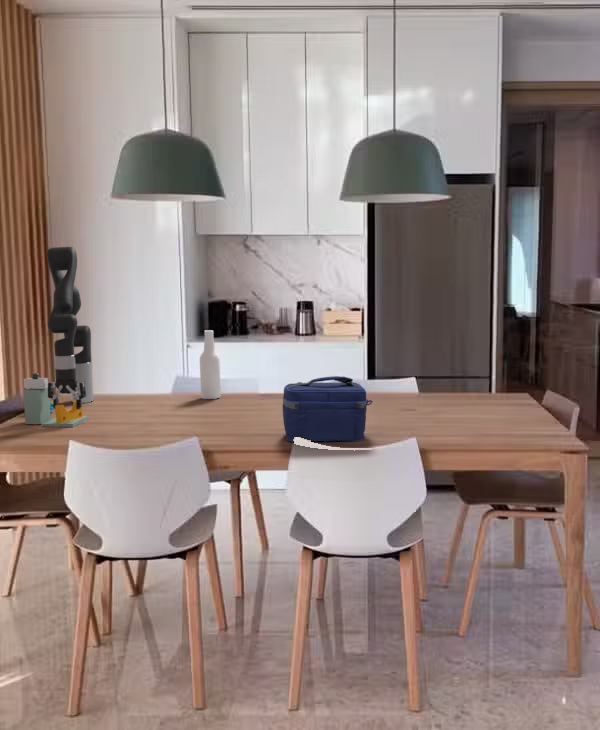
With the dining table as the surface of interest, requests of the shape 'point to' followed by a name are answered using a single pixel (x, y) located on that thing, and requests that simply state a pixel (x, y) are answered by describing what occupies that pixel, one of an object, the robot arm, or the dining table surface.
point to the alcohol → (210, 369)
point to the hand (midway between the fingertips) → (67, 409)
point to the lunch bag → (325, 410)
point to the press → (43, 409)
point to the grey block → (35, 382)
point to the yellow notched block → (67, 413)
